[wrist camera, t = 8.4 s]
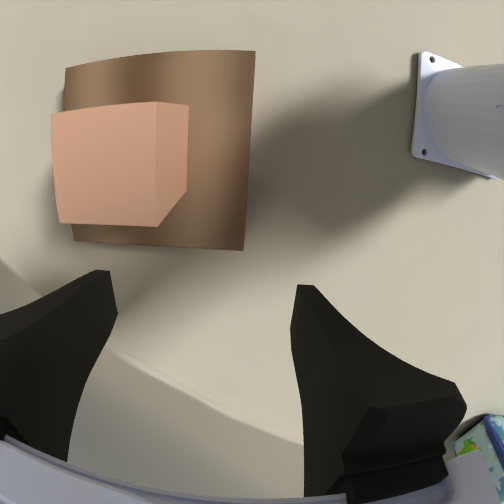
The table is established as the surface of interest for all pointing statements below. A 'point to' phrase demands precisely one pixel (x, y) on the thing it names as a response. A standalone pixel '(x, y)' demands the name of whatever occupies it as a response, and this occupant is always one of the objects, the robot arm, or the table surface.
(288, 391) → the table surface
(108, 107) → the terracotta block
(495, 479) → the lunch box
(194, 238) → the walnut block
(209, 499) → the robot arm
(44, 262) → the table surface
